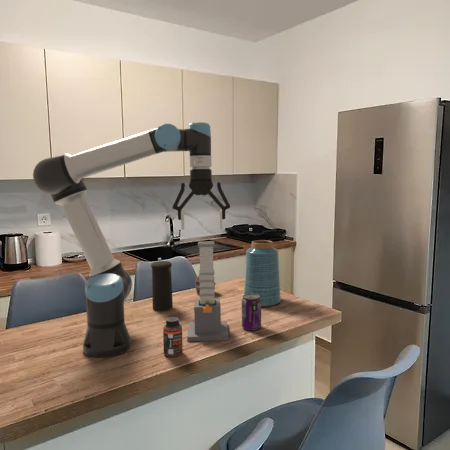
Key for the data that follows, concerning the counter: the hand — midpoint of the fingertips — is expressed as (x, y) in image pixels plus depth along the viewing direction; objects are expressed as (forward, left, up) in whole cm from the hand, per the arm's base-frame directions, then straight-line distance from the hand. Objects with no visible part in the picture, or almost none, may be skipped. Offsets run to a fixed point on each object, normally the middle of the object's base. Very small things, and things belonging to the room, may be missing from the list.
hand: (202, 228), depth 144 cm
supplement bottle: (-10, -20, -37) cm, 43 cm away
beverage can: (+17, -1, -37) cm, 41 cm away
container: (-18, +24, -37) cm, 47 cm away
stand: (+1, -4, -37) cm, 37 cm away
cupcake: (0, +43, -37) cm, 57 cm away
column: (+1, -4, -27) cm, 28 cm away
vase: (+25, +29, -37) cm, 53 cm away
